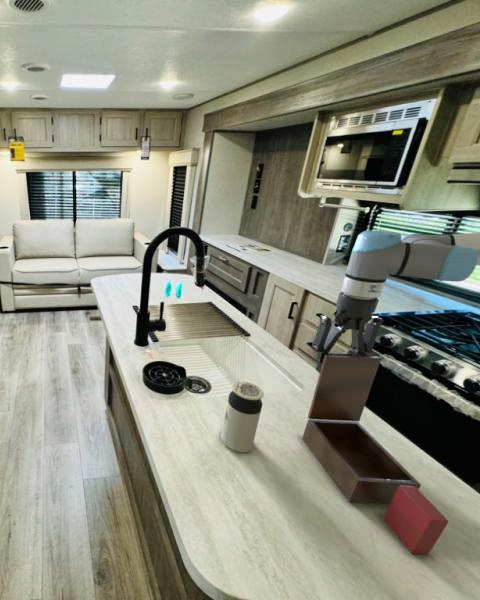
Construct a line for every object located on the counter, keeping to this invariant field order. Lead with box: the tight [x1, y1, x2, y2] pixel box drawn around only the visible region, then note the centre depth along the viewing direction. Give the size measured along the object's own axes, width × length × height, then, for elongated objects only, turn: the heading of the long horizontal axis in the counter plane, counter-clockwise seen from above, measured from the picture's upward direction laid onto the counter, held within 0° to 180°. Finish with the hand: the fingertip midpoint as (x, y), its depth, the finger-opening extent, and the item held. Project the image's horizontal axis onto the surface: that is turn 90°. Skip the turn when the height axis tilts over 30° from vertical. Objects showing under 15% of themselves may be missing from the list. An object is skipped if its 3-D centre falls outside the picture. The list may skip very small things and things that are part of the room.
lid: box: [307, 352, 382, 422], centre depth 84 cm, size 20×13×6 cm
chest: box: [302, 419, 422, 506], centre depth 78 cm, size 19×13×7 cm
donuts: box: [163, 280, 184, 299], centre depth 192 cm, size 10×10×10 cm
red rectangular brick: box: [382, 486, 450, 556], centre depth 63 cm, size 3×7×10 cm, turn 175°
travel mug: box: [220, 380, 265, 453], centre depth 85 cm, size 8×8×18 cm
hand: (333, 372), depth 86 cm, fingers closed on lid, 6 cm apart
